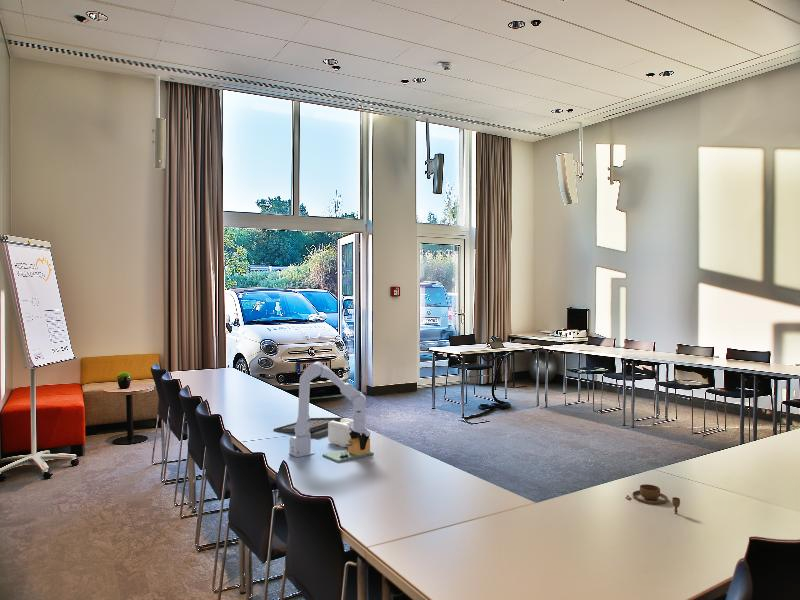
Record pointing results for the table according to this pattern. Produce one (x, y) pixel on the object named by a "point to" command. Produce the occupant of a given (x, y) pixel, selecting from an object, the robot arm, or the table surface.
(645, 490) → the place setting
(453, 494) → the table surface
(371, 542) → the table surface
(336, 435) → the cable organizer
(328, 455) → the board
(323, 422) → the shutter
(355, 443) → the block
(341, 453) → the twin bulb fixture
